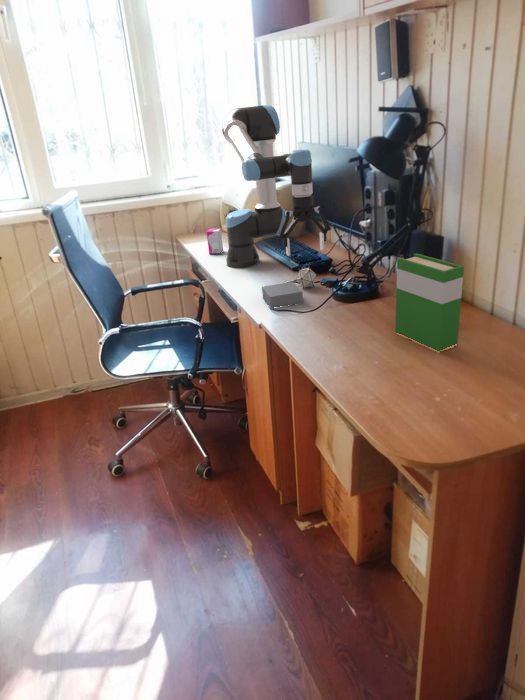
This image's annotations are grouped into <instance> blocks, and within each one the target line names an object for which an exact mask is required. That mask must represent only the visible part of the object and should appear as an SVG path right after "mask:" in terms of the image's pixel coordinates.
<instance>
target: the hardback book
mask: <svg viewBox="0 0 525 700" xmlns="http://www.w3.org/2000/svg"><path fill="white" fill-rule="evenodd" d="M396 265H397V266H396V295H395V296H396V297H395V298H396V299H395V331H394V333H395V332H396V333H399V334H402V335H404V336H406V337H408V338H411V339H413V340H415V341H417V342H419V343H421V344H424V345H426V346H428V347H431V348H433V349H435V350H437V351H440V350H443V349H445V348H447V347H450V346H452V345H455V344H457V343H458V341H459V333H460V332H459V331H460V330H459V329H460V320H461V319H460V318H461V308H462V306H461V305H462V295H463V294H462V292H463V285H464V283H463V282H464V271H465V266H464V265H462V264H461V265H460V264H458V263H453V262H451V261H446V260H442V259H439V258H435V257H432V256H431V257H430V256H427V255H425V254H421V253H413V257H409V258H405V259H404V258H402V257H398V258H397V263H396ZM458 344H459V343H458ZM458 344H457V345H458Z"/></svg>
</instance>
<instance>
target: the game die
mask: <svg viewBox="0 0 525 700" xmlns="http://www.w3.org/2000/svg"><path fill="white" fill-rule="evenodd" d="M310 267H311V265H308V267H305V268H302V269H300V268H297V270H298V272H297V276H296V279H293V281H294V282H297V283H298V284H299V285H300V286H301V287H302V290H305V288H308V287H315V281H316V278H317V276H319V273H316V272H315V271H313V270H312V269H311V268H310Z"/></svg>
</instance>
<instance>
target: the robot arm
mask: <svg viewBox="0 0 525 700" xmlns="http://www.w3.org/2000/svg"><path fill="white" fill-rule="evenodd" d="M221 125H222V126H221V131H222V135H223V137H224V139H225V141H227V142H228V143H229V144H231V146H232V147H233V149H234V150H235V152H236V153H237V156H239V158H240V160H241V161H242V163H241V171H242V172H241V173H242V176H243V178H244V180H245V181H246V182H247V181H248V182H251V181H254V182H255V186H256V196H257V197H256V199H257V203H256V204H255V206H254V211H252V209H249V208H244V209H243V208H242V209H238V210H234V211H231V212H230V213H228V214H227V215H226V217H225V228H226V234H227V242H228V243H227V245H228V250H227V255H226V259H225V260H226V261H225V262H226V265H227V266H228V267H230V268H236V269H237V268H248V267H254V266H256V265H258V264H259V263H260V255H259V253H258V251H257V248H256V245H255V239H260V238H265V237H275V236H277V237H279V238H281V239H282V246H283V247H284V248H285V253H286V255H287V256H288V257H290V256H291V245H290V244H291V243H290V238H289V236H290V234H291V232H293V229H294V228H295V227H296V225H298V223H299V222H300V223H303V222H309V221H311V222H312V223H313V224H314V225H315V226H316V227H317V228H318V229H319V230H320V231H319V250H321V251H322V252H323V251H325V242H327V233H328V232H329V231H331V230H332V228H331V226H330V224H329V222H328V220H327V219H326V216H325V215H324V212H323V208H322V206H320V205H317V206H316V207H314V195H312V194H313V192H314V191H313V167H312V165H313V164H312V161H313V160H312V153H311V151H310V150H309V149H295V150H292V151H290V152H289V153H285V154H282V155H275V156H274V145H273V144H274V142H275V141H276V140H277V136H276V135H279V133H280V131H281V130H280V129H281V124H280V118H279V115H278V112H277V110H276V108H275V107H274V106H272V105H262V104H261V105H256V106H248V107H247V106H246V107H237V108H234V109H232V110H231V111H230V112H228V114H227V115H226V116H225V117H224V119H223V121H222V124H221ZM283 177H284V178H285V177H290V181H291V184H290V185H291V195H292V197H291V198H292V199H291V201H292V202H291V203H292V210H285V209H284V208H283V207H282V205H281V204H280V203H279V202H278V200H277V199H278V197H277V186H276V178H283ZM314 213H316V214H317V215H318V217H319V219H320V220H321V223H322V224H321V223H320V222H319V221H318V220H317V219H316V218H315V216H314ZM292 216H293V218H292V219H291V221H290V223H289V220H290V218H291V217H292ZM288 223H289V225H288ZM287 225H288V226H287Z"/></svg>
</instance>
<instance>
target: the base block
mask: <svg viewBox="0 0 525 700" xmlns="http://www.w3.org/2000/svg"><path fill="white" fill-rule="evenodd" d="M261 293H262V299H263V301H264V302H265V303H266V304H267V306H268V305H269V306H270V307H269V306H268V307H269V309H271V308H274V307H280V306H287V307H289V306H288V305H293V306H296V305H295V304H299V305H302V304H304V299H303V291H302V290H301V289H300V288H299V286H297V285H296V283H295V282H293V281H288V282H283V283H276V284H270V285H264V286H261Z"/></svg>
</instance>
